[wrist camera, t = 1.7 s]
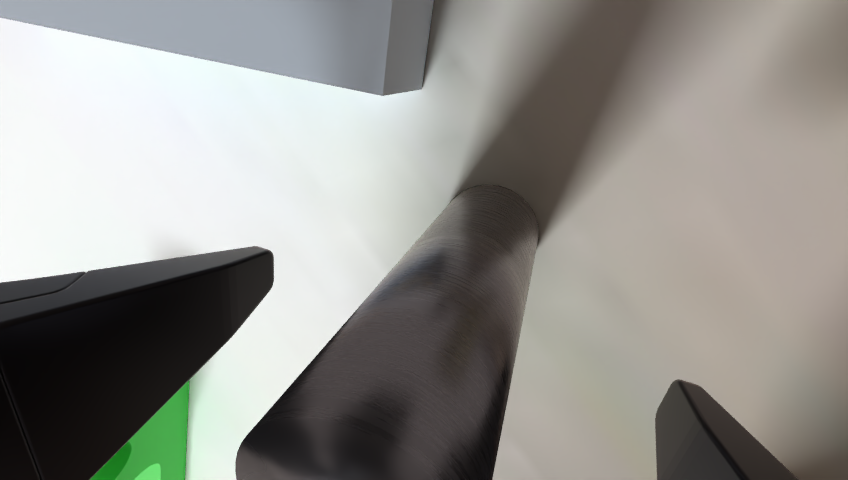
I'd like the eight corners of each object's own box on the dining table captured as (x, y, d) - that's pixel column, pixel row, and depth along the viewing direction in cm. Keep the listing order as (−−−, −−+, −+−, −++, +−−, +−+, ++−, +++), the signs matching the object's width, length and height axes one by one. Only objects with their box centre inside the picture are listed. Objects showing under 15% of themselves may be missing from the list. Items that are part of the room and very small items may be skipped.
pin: (550, 198, 13) (505, 490, 4) (524, 286, 14) (447, 647, 5) (451, 174, 14) (228, 379, 5) (435, 260, 15) (240, 542, 6)
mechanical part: (103, 311, 23) (-103, 420, 16) (193, 360, 22) (15, 498, 15) (115, 446, 28) (-36, 571, 21) (187, 489, 27) (54, 635, 20)
